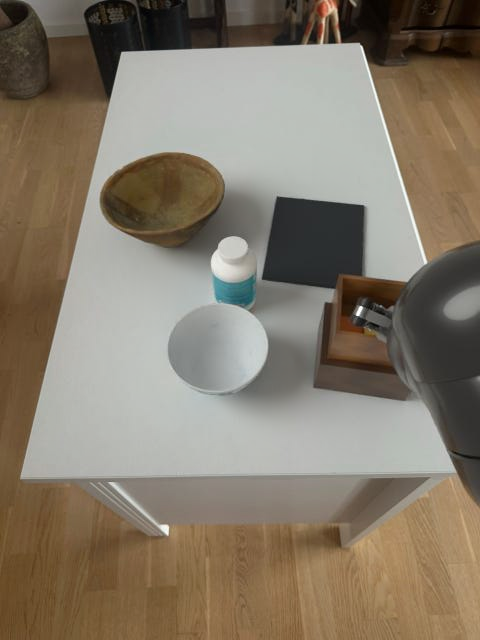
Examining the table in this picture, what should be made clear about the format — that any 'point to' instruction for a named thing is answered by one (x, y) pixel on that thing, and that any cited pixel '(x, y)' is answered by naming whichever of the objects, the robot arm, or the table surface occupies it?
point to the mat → (314, 242)
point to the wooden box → (343, 304)
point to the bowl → (162, 197)
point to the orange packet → (349, 325)
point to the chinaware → (217, 348)
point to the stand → (353, 371)
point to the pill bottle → (234, 273)
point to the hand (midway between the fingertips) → (417, 336)
